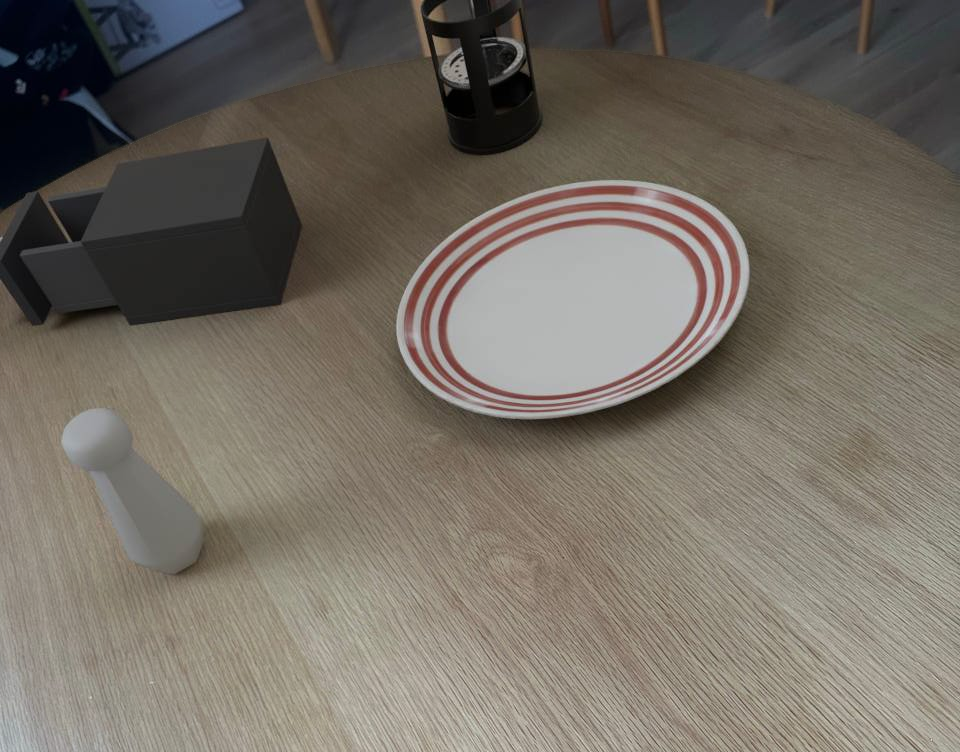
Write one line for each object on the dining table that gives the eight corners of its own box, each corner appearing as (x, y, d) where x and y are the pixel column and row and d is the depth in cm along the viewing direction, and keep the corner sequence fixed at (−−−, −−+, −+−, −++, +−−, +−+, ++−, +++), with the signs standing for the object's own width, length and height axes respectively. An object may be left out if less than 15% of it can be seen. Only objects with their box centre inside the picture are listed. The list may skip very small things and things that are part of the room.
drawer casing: (129, 325, 94) (79, 241, 87) (160, 247, 100) (116, 163, 93) (280, 304, 91) (241, 216, 84) (302, 225, 97) (267, 136, 90)
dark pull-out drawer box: (-27, 334, 97) (-73, 272, 91) (10, 265, 102) (-32, 202, 97) (165, 307, 92) (128, 240, 87) (191, 236, 98) (158, 170, 93)
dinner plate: (543, 503, 71) (535, 469, 68) (344, 335, 86) (331, 303, 83) (828, 300, 76) (831, 261, 74) (593, 176, 92) (588, 141, 89)
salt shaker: (188, 590, 73) (96, 463, 63) (125, 577, 75) (26, 452, 65) (227, 529, 76) (145, 397, 65) (165, 517, 78) (76, 388, 67)
